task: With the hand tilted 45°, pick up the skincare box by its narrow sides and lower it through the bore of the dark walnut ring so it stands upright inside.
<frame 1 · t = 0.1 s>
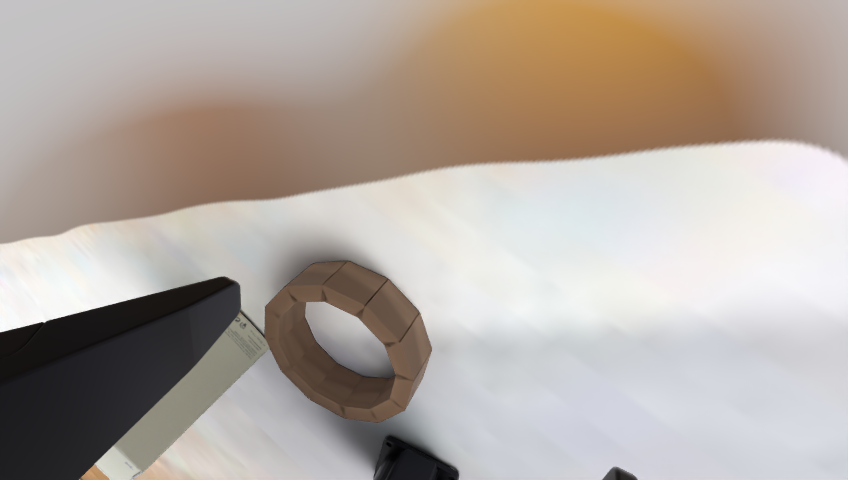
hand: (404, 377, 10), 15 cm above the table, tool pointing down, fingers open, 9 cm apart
walnut ring: (356, 330, 32), on the table
skincare box: (242, 338, 38), on the table
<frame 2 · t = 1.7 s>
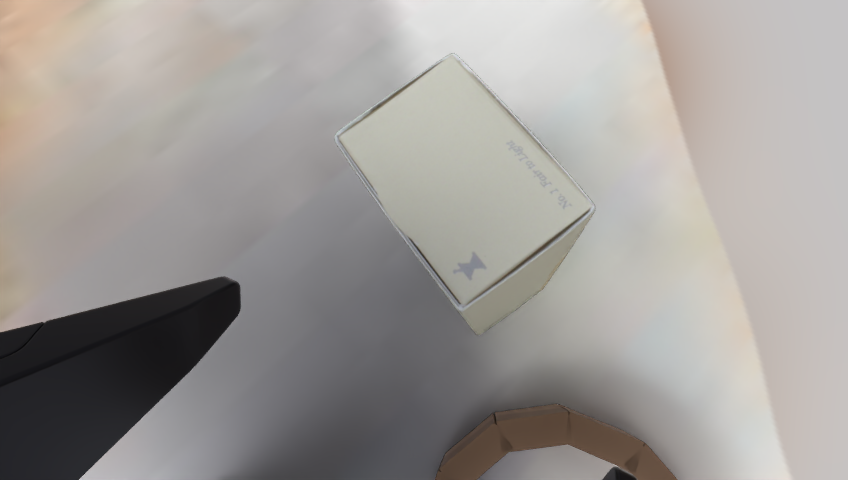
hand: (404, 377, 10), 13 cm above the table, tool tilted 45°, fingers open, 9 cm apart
skincare box: (472, 264, 23), on the table
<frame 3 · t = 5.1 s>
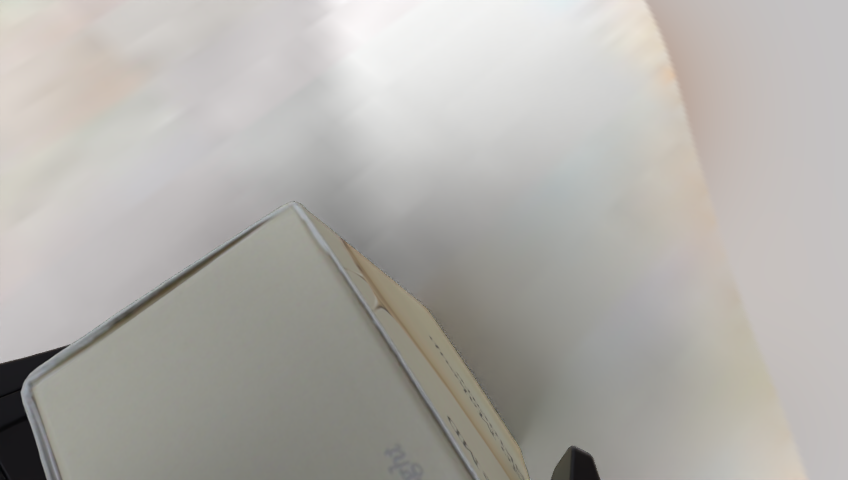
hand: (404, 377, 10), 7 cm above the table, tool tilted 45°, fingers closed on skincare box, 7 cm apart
skincare box: (421, 406, 16), on the table, touching gripper
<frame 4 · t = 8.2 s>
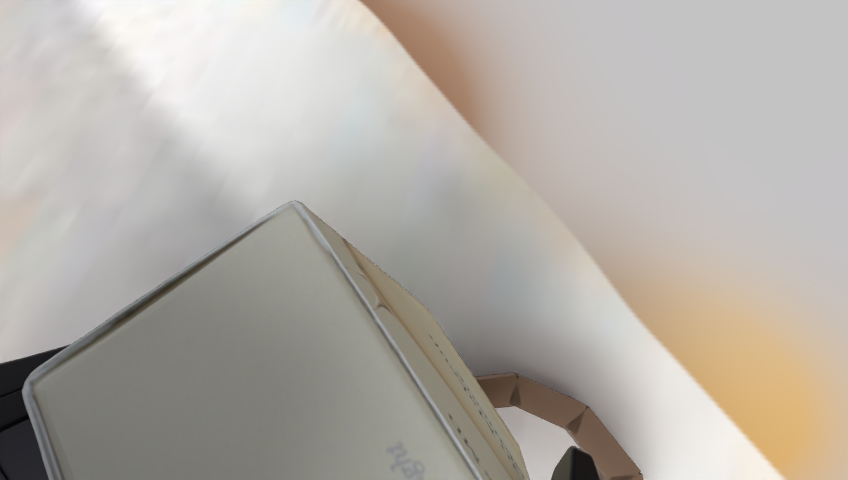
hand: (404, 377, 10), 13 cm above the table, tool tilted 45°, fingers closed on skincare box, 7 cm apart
skincare box: (420, 404, 16), point 6 cm above the table, touching gripper
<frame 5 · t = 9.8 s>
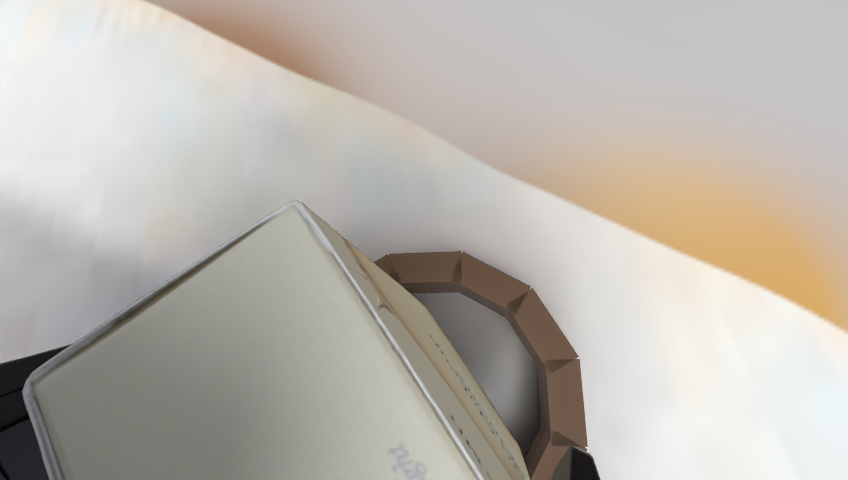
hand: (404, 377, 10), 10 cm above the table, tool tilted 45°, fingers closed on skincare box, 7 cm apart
walnut ring: (434, 393, 19), on the table
skincare box: (421, 404, 16), point 3 cm above the table, touching gripper
when the fingers open (8 cm above the table, at t = 11.4 s): skincare box drops 1 cm, resting in walnut ring.
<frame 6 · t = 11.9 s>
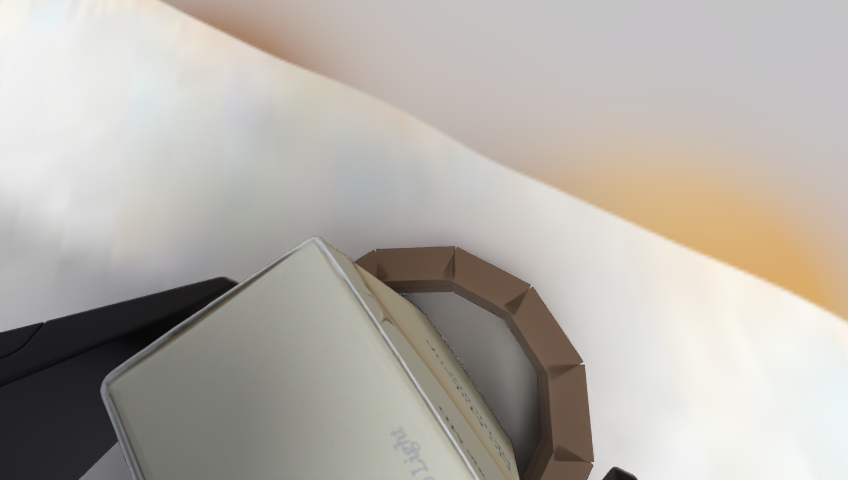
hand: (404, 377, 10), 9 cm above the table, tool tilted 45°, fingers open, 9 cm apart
walnut ring: (426, 402, 18), on the table
skincare box: (420, 403, 18), resting in walnut ring
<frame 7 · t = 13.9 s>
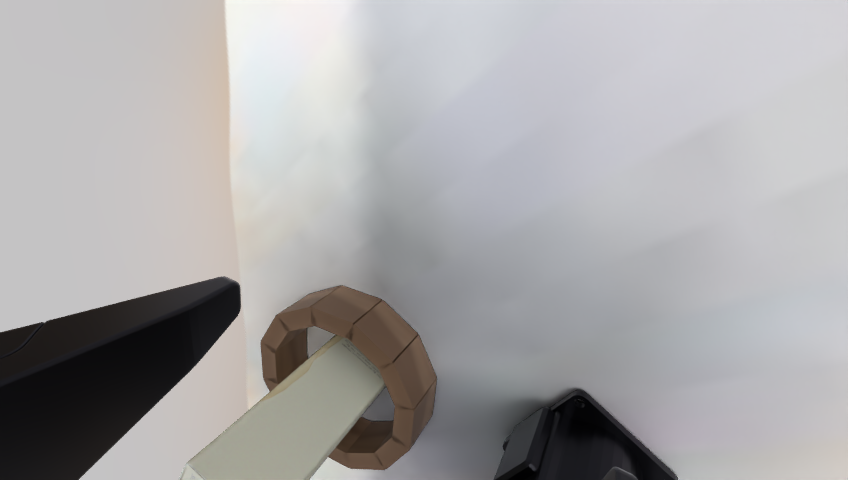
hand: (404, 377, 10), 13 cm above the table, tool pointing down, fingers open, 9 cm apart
walnut ring: (358, 365, 29), on the table
skincare box: (362, 366, 30), resting in walnut ring
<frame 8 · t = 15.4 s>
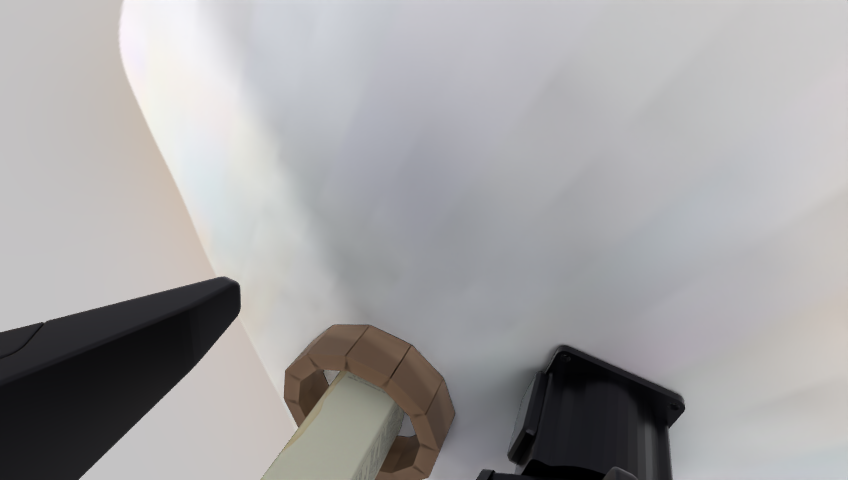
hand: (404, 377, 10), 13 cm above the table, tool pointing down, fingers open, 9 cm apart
walnut ring: (377, 390, 31), on the table
skincare box: (381, 389, 31), resting in walnut ring
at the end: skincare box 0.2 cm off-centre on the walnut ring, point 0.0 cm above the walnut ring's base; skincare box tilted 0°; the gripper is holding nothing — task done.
